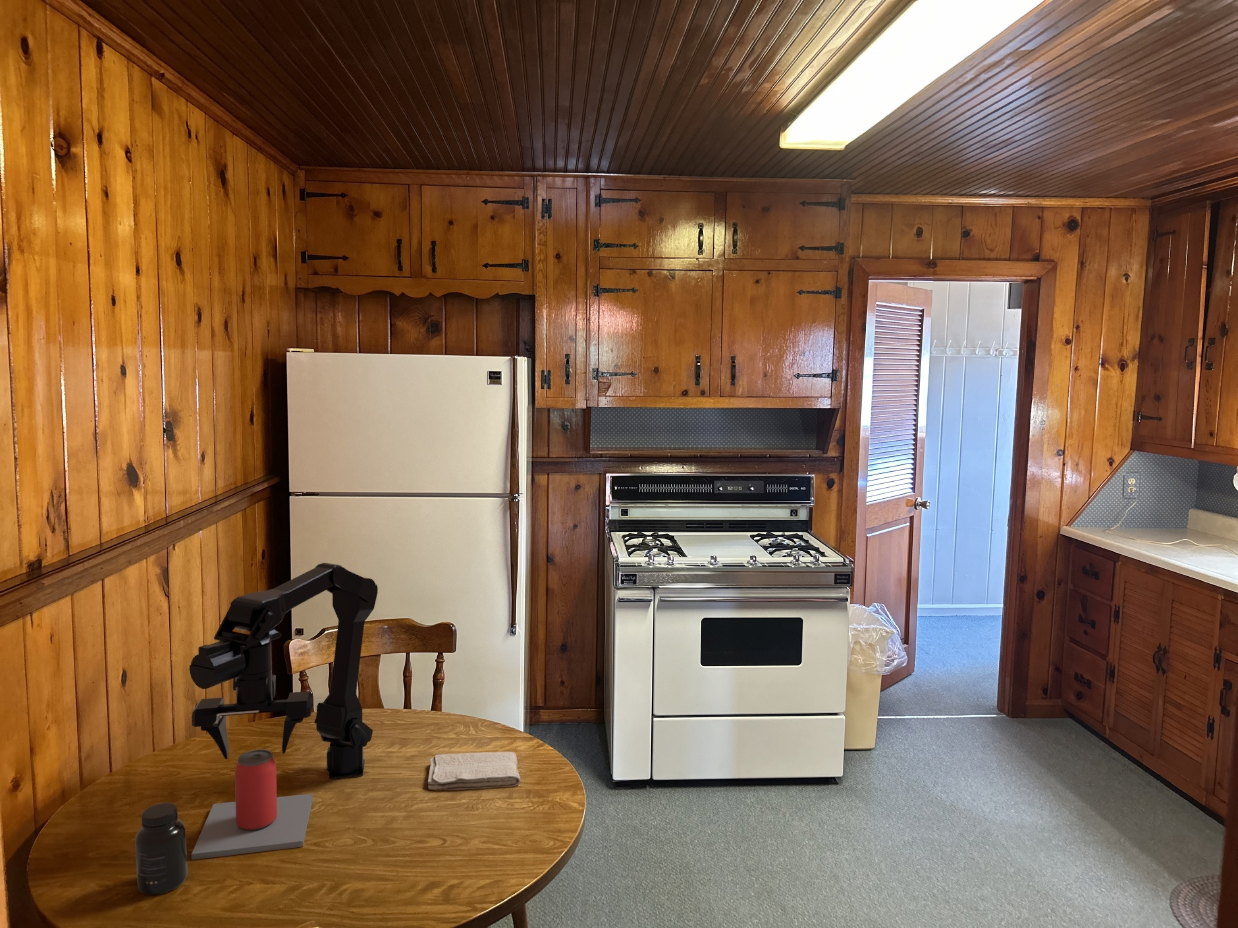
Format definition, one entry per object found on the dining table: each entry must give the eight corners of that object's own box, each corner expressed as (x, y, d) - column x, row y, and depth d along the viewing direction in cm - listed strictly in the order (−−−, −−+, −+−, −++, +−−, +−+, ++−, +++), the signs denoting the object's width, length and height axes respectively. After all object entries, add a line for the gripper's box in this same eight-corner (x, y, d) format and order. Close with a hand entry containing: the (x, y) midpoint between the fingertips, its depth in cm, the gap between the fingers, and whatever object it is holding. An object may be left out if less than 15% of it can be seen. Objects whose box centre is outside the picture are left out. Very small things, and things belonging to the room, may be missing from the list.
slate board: (312, 798, 151) (312, 793, 151) (302, 846, 136) (302, 840, 135) (213, 808, 146) (213, 803, 146) (191, 859, 131) (191, 853, 131)
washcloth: (429, 765, 166) (429, 751, 166) (516, 760, 169) (517, 746, 169) (426, 794, 154) (426, 779, 154) (520, 788, 158) (520, 773, 157)
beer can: (284, 813, 144) (283, 748, 143) (264, 833, 137) (263, 766, 136) (249, 810, 145) (248, 746, 143) (228, 830, 138) (226, 763, 137)
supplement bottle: (150, 869, 128) (147, 798, 127) (195, 868, 129) (192, 797, 127) (128, 897, 121) (125, 822, 120) (175, 896, 122) (172, 821, 121)
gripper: (315, 650, 149) (317, 730, 150) (205, 656, 144) (207, 740, 145) (309, 671, 138) (310, 757, 140) (189, 679, 133) (192, 769, 135)
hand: (255, 755), depth 140 cm, fingers open, 9 cm apart
